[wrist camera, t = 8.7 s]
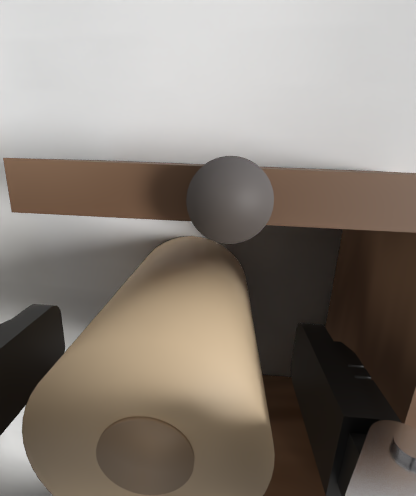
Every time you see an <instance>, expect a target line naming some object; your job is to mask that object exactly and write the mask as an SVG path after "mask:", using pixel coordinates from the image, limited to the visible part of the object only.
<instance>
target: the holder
mask: <svg viewBox="0 0 416 496" xmlns="http://www.w3.org/2000/svg"><path fill="white" fill-rule="evenodd" d="M3 160H4V166H5V173H6V179H7V185H8V191H9V198H10V204H11V210H12V212H18V213H37V214H57V215H77V216H97V217H116V218H136V219H156V220H176V221H192V223H193V225H194V226H195V227H196V229H197V230H198V231H199V232H200V233H201V234H203V235H204V236H205V237H207V238H209V239H210V240H213V241H215V242H219V243H224V244H235V243H240V242H244V241H246V240H249V239H251V238H252V237H254V236H255V235H257V234H258V233H259V232H260V231H261V230H262V229H263V228H264V227H265V225H274V226H294V227H314V228H333V229H343V231H342V236H341V242H340V247H339V253H338V259H337V264H336V270H335V275H334V281H333V287H332V292H331V298H330V303H329V309H328V315H327V320H326V326H325V328H326V329H327V331H328V333H329V334H330V336H331V338H332V339H333V341H337V342H342V343H343V344H345V345H346V346H347V347H348V348H350V349H351V350H352V351H353V352H355V353H356V355H357V356H358V358H359V359H360V361H361V362H362V364H363V365H364V368H366V370H367V371H368V373H369V374H370V376H371V379H372V380H374V382H375V383H376V385H377V386H378V388H379V389H380V391H381V392H382V394H383V395H384V397H385V398H386V400H387V401H388V403H389V404H390V406H391V407H392V409H393V410H394V412H395V413H396V415H397V416H398V418H399V419H400V421H401V422H402V423H404V424H406V425H409V426H411V427H413V428H415V429H416V173H401V172H381V171H356V170H331V169H306V168H281V167H259V166H258V165H256V164H255V163H253V162H252V161H250V160H248V159H245V158H242V157H237V156H225V157H220V158H216V159H214V160H212V161H209V162H208V163H206V164H182V163H157V162H132V161H105V160H65V159H25V158H3ZM262 377H263V383H264V389H265V395H266V401H267V407H268V413H269V419H270V425H271V432H272V438H273V445H274V453H275V457H274V469H273V473H272V478H271V481H270V483H269V485H268V488H267V490H266V492H265V493H264V495H263V496H326V495H325V492H324V488H323V485H322V482H321V478H320V475H319V471H318V468H317V465H316V461H315V458H314V454H313V451H312V448H311V444H310V441H309V438H308V434H307V431H306V427H305V424H304V421H303V417H302V414H301V410H300V407H299V404H298V400H297V397H296V393H295V390H294V387H293V383H292V377H284V376H272V375H262Z"/></svg>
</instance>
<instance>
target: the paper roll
mask: <svg viewBox="0 0 416 496" xmlns="http://www.w3.org/2000/svg"><path fill="white" fill-rule="evenodd" d="M22 435H23V444H24V447H25V451H26V454H27V457H28V459H29V462H30V464H31V466H32V468H33V470H34V472H35V473H36V475H37V477H38V478H39V480H40V481H41V482H42V483H43V485H44V486H45V487H46V488H47V490H48V491H49V492H50V493H51V494H52V495H53V496H263V495H264V493H265V492H266V490H267V488H268V485H269V483H270V481H271V478H272V473H273V469H274V457H275V453H274V445H273V438H272V432H271V425H270V419H269V413H268V407H267V401H266V395H265V389H264V383H263V377H262V371H261V365H260V359H259V353H258V347H257V341H256V335H255V329H254V323H253V317H252V311H251V305H250V299H249V293H248V287H247V280H246V277H245V273H244V271H243V268H242V266H241V265H240V263H239V261H238V260H237V259H236V257H235V256H234V255H233V254H232V253H231V252H230V251H229V250H228V249H226V248H225V247H224V246H222V245H220V244H218V243H217V242H215V241H212V240H209V239H206V238H202V237H195V236H185V237H178V238H175V239H171V240H169V241H166V242H164V243H163V244H161V245H159V246H158V247H157V248H155V249H154V250H153V251H152V252H151V253H150V254H149V255H148V256H147V258H146V259H145V260H144V261H143V262H142V263H141V265H140V266H139V267H138V268H137V269H136V270H135V271H134V273H133V274H132V275H131V276H130V277H129V278H128V280H127V281H126V282H125V283H124V284H123V285H122V287H121V288H120V289H119V290H118V291H117V292H116V294H115V295H114V296H113V297H112V298H111V299H110V301H109V302H108V303H107V304H106V305H105V306H104V308H103V309H102V310H101V311H100V312H99V313H98V315H97V316H96V317H95V318H94V319H93V320H92V321H91V323H90V324H89V325H88V326H87V327H86V328H85V330H84V331H83V332H82V333H81V334H80V335H79V337H78V338H77V339H76V340H75V341H74V342H73V344H72V345H71V346H70V347H69V348H68V349H67V351H66V352H65V353H64V354H63V355H62V356H61V358H60V359H59V360H58V361H57V362H56V363H55V365H54V366H53V367H52V368H51V369H50V370H49V372H48V373H47V374H46V375H45V376H44V377H43V378H42V380H41V381H40V382H39V383H38V385H37V386H36V388H35V389H34V391H33V392H32V394H31V395H30V398H29V400H28V402H27V404H26V407H25V411H24V416H23V424H22Z"/></svg>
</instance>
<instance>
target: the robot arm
mask: <svg viewBox="0 0 416 496" xmlns="http://www.w3.org/2000/svg"><path fill="white" fill-rule="evenodd" d="M64 352H65V341H64V333H63V325H62V317H61V311H60V309H59V307H58V306H53V305H38V304H33V305H31V306H29V307H28V308H26V309H25V310H24V311H22V312H21V313H20V314H18V315H17V316H15V317H14V318H13V319H11V320H8V321H6V322H4V323H2V324H0V435H1V434H2V433H3V432H4V430H5V429H6V428H7V427H8V426H9V424H10V423H11V422H12V421H13V420H14V418H15V417H16V416H17V415H18V414H19V412H20V411H21V410H22V409H23V408H24V406H25V405H26V404H27V402H28V400H29V398H30V395H31V394H32V392H33V391H34V389H35V388H36V386H37V385H38V383H39V382H40V381H41V380H42V378H43V377H44V376H45V375H46V374H47V373H48V372H49V370H50V369H51V368H52V367H53V366H54V365H55V363H56V362H57V361H58V360H59V359H60V358H61V356H62V355H63V354H64ZM291 376H292V383H293V387H294V390H295V393H296V397H297V400H298V404H299V407H300V410H301V414H302V417H303V421H304V424H305V427H306V431H307V434H308V438H309V441H310V444H311V448H312V451H313V454H314V458H315V461H316V465H317V468H318V471H319V475H320V478H321V482H322V485H323V488H324V492H325V495H326V496H416V429H415V428H413V427H411V426H409V425H406V424H404V423H402V422H401V421H400V419H399V418H398V416H397V415H396V413H395V412H394V410H393V409H392V407H391V406H390V404H389V403H388V401H387V400H386V398H385V397H384V395H383V394H382V392H381V391H380V389H379V388H378V386H377V385H376V383H375V382H374V380H372V379H371V376H370V374H369V373H368V371H367V370H366V368H364V365H363V364H362V362H361V361H360V359H359V358H358V356H357V355H356V353H355V352H353V351H352V350H351V349H350V348H348V347H347V346H346V345H345V344H343V343H342V342H337V341H333V339H332V338H331V336H330V334H329V333H328V331H327V329H326V328H325V326H324V325H322V324H308V323H299V324H298V326H297V329H296V336H295V342H294V349H293V356H292V363H291Z"/></svg>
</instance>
